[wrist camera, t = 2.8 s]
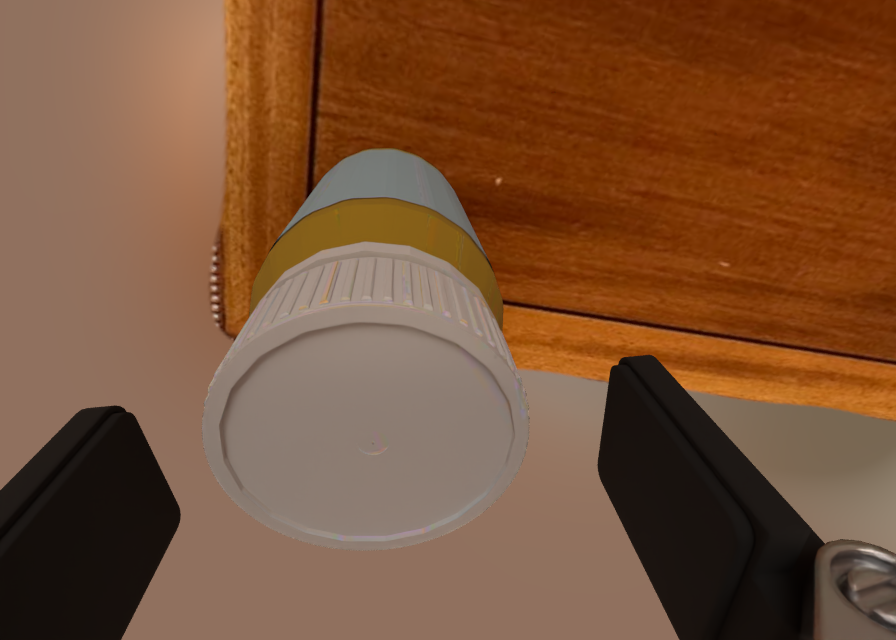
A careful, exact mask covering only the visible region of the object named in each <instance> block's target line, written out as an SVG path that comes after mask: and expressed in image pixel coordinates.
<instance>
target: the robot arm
mask: <svg viewBox="0 0 896 640" xmlns="http://www.w3.org/2000/svg"><path fill="white" fill-rule="evenodd" d="M598 472H599V476H600V479H601V482H602V484H603V486H604V488H605V490H606V492H607V494H608V496H609V498H610V500H611V502H612V504H613V506H614V508H615V510H616V512H617V514H618V516H619V518H620V520H621V522H622V524H623V526H624V528H625V530H626V532H627V534H628V536H629V539H630V541H631V543H632V545H633V547H634V549H635V551H636V553H637V555H638V557H639V559H640V561H641V563H642V565H643V567H644V569H645V571H646V573H647V575H648V577H649V579H650V581H651V583H652V585H653V587H654V589H655V591H656V593H657V595H658V597H659V599H660V601H661V603H662V605H663V607H664V609H665V611H666V613H667V615H668V618H669V620H670V621H671V624H672V625H673V628H674V629H675V632H676V634H677V636H678V638H679V639H680V640H896V554H894V553H893V552H891V551H888V550H886V549H884V548H882V547H879V546H876V545H872V544H869V543H865V542H862V541H855V540H843V539H840V540H836V541H831V542H827V543H826V544H825V543H824V542H823V541H822V540H821V539H820V538H819V537H818V536H817V534H816V533H815V532H814V531H813V530H812V529H811V528H810V527H809V525H808V524H807V523H806V522H805V521H804V520H803V519H802V518H801V517H800V515H799V514H798V513H797V512H796V511H795V510H794V509H793V508H792V507H791V506H790V504H789V503H788V502H787V501H786V500H785V499H784V498H783V497H782V496H781V495H780V494H779V492H778V491H777V490H776V489H775V488H774V487H773V486H772V485H771V484H770V483H769V482H768V480H767V479H766V478H765V477H764V476H763V475H762V474H761V473H760V472H759V471H758V469H756V467H755V466H754V465H753V464H752V463H751V462H750V461H749V460H748V458H747V457H746V456H745V455H744V454H743V453H742V452H741V451H740V450H739V449H738V447H736V445H735V444H734V443H733V442H732V441H731V440H730V439H729V438H728V437H727V435H726V434H725V433H724V432H723V431H722V430H721V429H720V428H719V427H718V426H717V425H716V423H715V422H714V421H713V420H712V419H711V418H710V417H709V416H708V415H707V414H706V412H705V411H704V410H703V409H702V408H701V407H700V406H699V405H698V404H697V403H696V401H694V399H693V398H692V397H691V396H690V395H689V394H688V393H687V392H686V391H685V389H684V388H683V387H682V386H681V385H680V384H679V383H678V382H677V381H676V380H675V378H674V377H673V376H672V375H671V374H670V373H669V372H668V371H667V370H666V369H665V368H664V366H663V365H662V364H661V363H660V362H659V361H658V360H657V359H656V358H655V357H654V356H652V355H643V356H633V357H623V358H621V360H620V361H619V364H618V365H614V366H612V368H611V371H610V378H609V385H608V392H607V399H606V407H605V414H604V422H603V428H602V435H601V442H600V450H599V457H598ZM180 515H181V514H180V508H179V505H178V504H177V501H176V499H175V497H174V495H173V493H172V491H171V489H170V487H169V485H168V483H167V481H166V479H165V477H164V475H163V473H162V471H161V469H160V466H159V465H158V462H157V460H156V458H155V456H154V454H153V452H152V450H151V448H150V446H149V444H148V442H147V440H146V438H145V436H144V434H143V432H142V430H141V428H140V426H139V423H138V422H137V419H136V418H135V416H134V415H133V414H132V413H129V412H126V410H125V409H124V408H122V407H120V406H106V407H95V408H86V409H83V410H81V411H79V412H78V413H76V414H75V416H73V418H72V419H71V420H70V421H69V422H68V423H67V424H66V425H65V426H64V427H63V428H62V429H61V430H60V431H59V432H58V433H57V434H56V435H55V436H54V437H53V438H52V439H51V440H50V441H49V442H48V443H47V444H46V445H45V446H44V447H43V448H42V449H41V450H40V451H39V452H38V453H37V454H36V455H35V456H34V457H33V458H32V459H31V460H30V461H29V462H28V463H27V464H26V465H25V466H24V467H23V468H22V469H21V470H20V471H19V472H18V473H17V474H16V475H15V476H14V477H13V478H12V479H11V480H10V481H9V482H8V483H7V484H6V485H5V486H4V487H3V488H2V489H1V490H0V640H121V639H122V636H123V635H124V633H125V631H126V629H127V627H128V625H129V623H130V621H131V619H132V617H133V615H134V613H135V611H136V609H137V607H138V605H139V603H140V601H141V599H142V597H143V595H144V593H145V591H146V589H147V587H148V585H149V583H150V581H151V579H152V578H153V576H154V574H155V571H156V570H157V568H158V566H159V564H160V562H161V560H162V558H163V556H164V554H165V552H166V550H167V548H168V546H169V544H170V542H171V540H172V538H173V536H174V534H175V532H176V530H177V528H178V525H179V523H180Z"/></svg>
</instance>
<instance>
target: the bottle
mask: <svg viewBox="0 0 896 640" xmlns="http://www.w3.org/2000/svg"><path fill="white" fill-rule="evenodd" d="M502 327H503V302H502V297H501V294H500V291H499V288H498V285H497V282H496V278H495V275H494V273H493V270H492V267H491V264H490V262H489V260H488V258H487V256H486V254H485V252H484V250H483V248H482V246H481V244H480V242H479V240H478V238H477V236H476V234H475V232H474V230H473V228H472V226H471V224H470V222H469V220H468V218H467V216H466V214H465V212H464V210H463V208H462V206H461V204H460V202H459V199H458V197H457V195H456V194H455V192H454V190H453V188H452V187H451V186H450V184H449V183H448V182H447V180H446V179H445V178H444V176H443V175H442V174H441V172H440V171H439V170H438V169H437V168H435V167H434V166H433V165H431V164H430V163H428V162H427V161H425V160H424V159H423V158H421V157H419V156H417V155H415V154H412V153H409V152H406V151H402V150H399V149H394V148H374V149H367V150H363V151H361V152H358V153H356V154H353V155H350V156H348V157H346V158H344V159H343V160H341V161H340V162H339V163H338V164H337V165H336V166H334V167H333V168H332V169H331V170H330V171H329V172H327V173H326V174H325V175H324V177H323V178H322V179H321V181H320V182H319V183H318V185H317V186H316V187H315V189H314V190H313V191H312V193H311V194H310V196H309V197H308V198H307V200H306V201H305V202H304V204H303V205H302V206H301V208H300V209H299V211H298V212H297V213H296V215H295V216H294V217H293V219H292V220H291V221H290V223H289V224H288V226H287V227H286V228H285V230H284V231H283V232H282V234H281V235H280V236H279V238H278V239H277V241H276V242H275V243H274V245H273V246H272V248H271V250H270V252H269V254H268V256H267V257H266V259H265V261H264V263H263V265H262V267H261V268H260V271H259V272H258V274H257V276H256V278H255V281H254V284H253V287H252V295H251V303H250V312H249V319H248V320H247V322H246V323H245V325H244V327H243V328H242V330H241V331H240V333H239V335H238V336H237V338H236V340H235V341H234V343H233V344H232V346H231V348H230V349H229V351H228V353H227V354H226V356H225V357H224V359H223V361H222V362H221V364H220V366H219V367H218V369H217V371H216V372H215V374H214V379H213V380H212V382H211V384H210V385H209V388H208V393H209V394H208V396H207V398H206V399H205V402H204V406H205V408H204V413H203V420H202V439H203V446H204V451H205V454H206V458H207V461H208V463H209V466H210V468H211V470H212V472H213V474H214V476H215V478H216V479H217V481H218V483H219V484H220V486H221V487H222V488H223V490H224V491H225V492H226V493H227V495H228V496H229V497H230V498H231V499H232V500H233V501H234V502H235V503H236V504H237V505H238V506H239V507H240V508H241V509H242V510H244V511H245V512H246V513H247V514H249V515H250V516H251V517H253V518H254V519H256V520H257V521H259V522H260V523H262V524H264V525H265V526H267V527H269V528H271V529H273V530H275V531H277V532H279V533H281V534H284V535H286V536H289V537H291V538H294V539H297V540H300V541H303V542H306V543H310V544H314V545H318V546H323V547H329V548H335V549H344V550H383V549H392V548H399V547H405V546H410V545H414V544H418V543H421V542H425V541H429V540H431V539H434V538H437V537H440V536H442V535H445V534H447V533H449V532H451V531H454V530H456V529H458V528H460V527H461V526H463V525H465V524H467V523H468V522H470V521H472V520H473V519H475V518H476V517H477V516H479V515H480V514H481V513H483V512H484V511H485V510H487V509H488V508H489V507H490V506H491V505H492V504H493V503H494V502H495V501H496V500H497V499H498V498H499V497H500V496H501V495H502V494H503V493H504V492H505V490H506V489H507V488H508V486H509V485H510V484H511V482H512V481H513V479H514V478H515V476H516V474H517V472H518V470H519V468H520V466H521V464H522V461H523V459H524V456H525V453H526V449H527V444H528V438H529V416H528V410H529V405H528V402H527V400H526V391H525V389H524V386H523V384H522V380H521V378H520V375H519V373H518V370H517V368H516V365H515V363H514V360H513V358H512V356H511V353H510V351H509V348H508V346H507V343H506V341H505V338H504V336H503V334H502Z"/></svg>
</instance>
